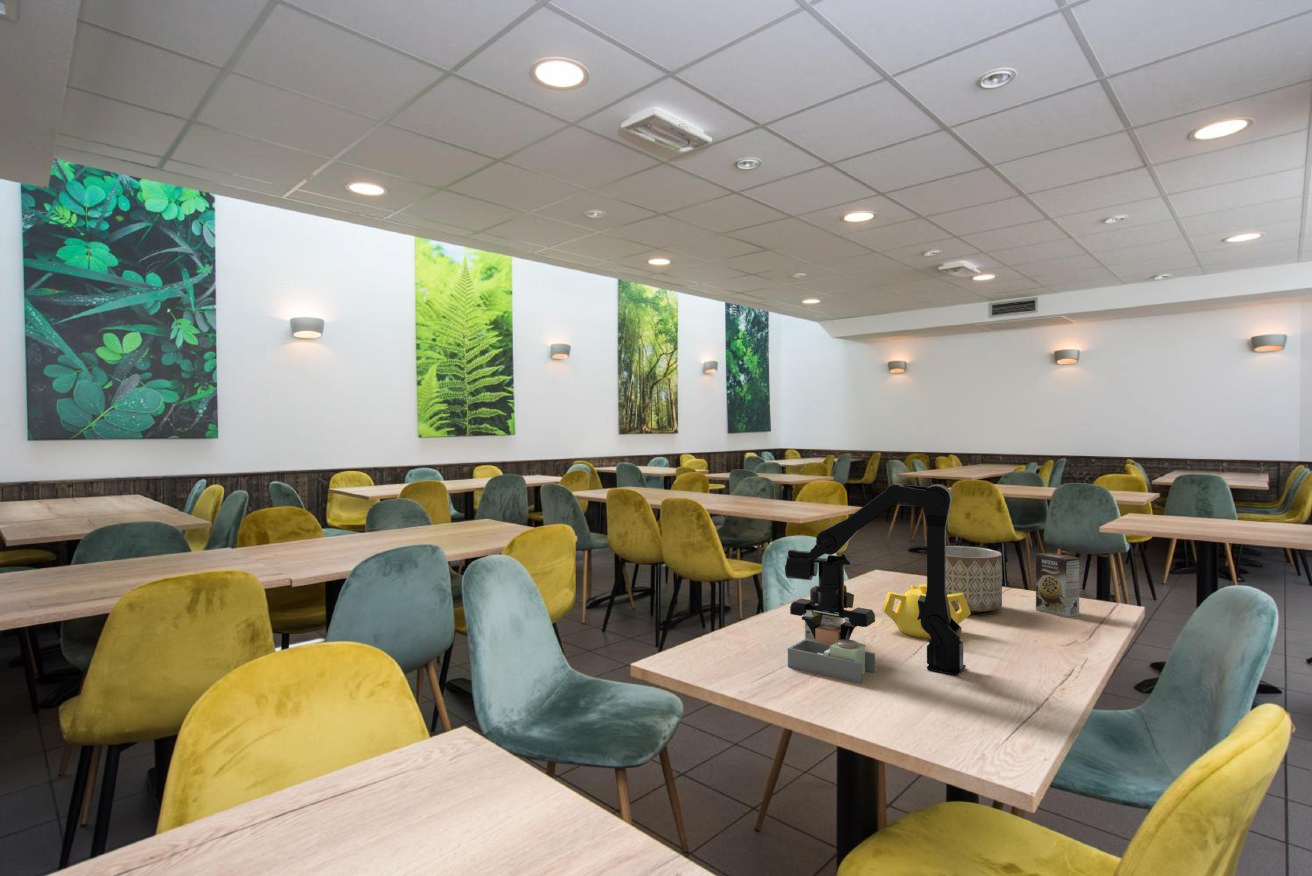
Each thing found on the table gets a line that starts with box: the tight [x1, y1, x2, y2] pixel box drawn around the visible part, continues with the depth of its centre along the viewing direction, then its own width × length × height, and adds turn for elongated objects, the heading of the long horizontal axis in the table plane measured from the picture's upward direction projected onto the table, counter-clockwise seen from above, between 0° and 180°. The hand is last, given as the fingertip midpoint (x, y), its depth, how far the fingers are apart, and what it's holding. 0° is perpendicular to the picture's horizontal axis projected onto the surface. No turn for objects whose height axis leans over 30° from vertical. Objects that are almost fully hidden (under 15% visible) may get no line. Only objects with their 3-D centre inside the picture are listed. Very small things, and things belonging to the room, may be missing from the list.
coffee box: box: [1035, 552, 1081, 618], centre depth 190 cm, size 9×6×16 cm
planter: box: [946, 545, 1003, 614], centre depth 196 cm, size 19×19×16 cm
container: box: [804, 585, 844, 642], centre depth 167 cm, size 8×8×13 cm
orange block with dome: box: [815, 622, 841, 645], centre depth 157 cm, size 6×6×7 cm
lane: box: [787, 638, 876, 684], centre depth 146 cm, size 16×8×4 cm, turn 52°
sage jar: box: [830, 639, 866, 675], centre depth 144 cm, size 6×6×7 cm
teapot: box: [881, 583, 972, 639], centre depth 173 cm, size 17×17×12 cm
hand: (831, 649), depth 157 cm, fingers closed on orange block with dome, 5 cm apart
